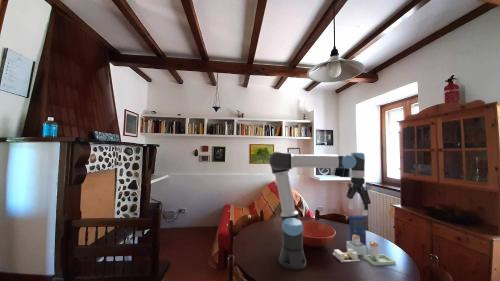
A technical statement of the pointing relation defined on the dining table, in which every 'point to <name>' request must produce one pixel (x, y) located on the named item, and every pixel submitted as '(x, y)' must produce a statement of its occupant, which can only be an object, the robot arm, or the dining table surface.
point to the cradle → (350, 252)
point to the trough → (380, 260)
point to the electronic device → (358, 227)
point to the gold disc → (346, 256)
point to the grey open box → (357, 248)
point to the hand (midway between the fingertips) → (357, 212)
